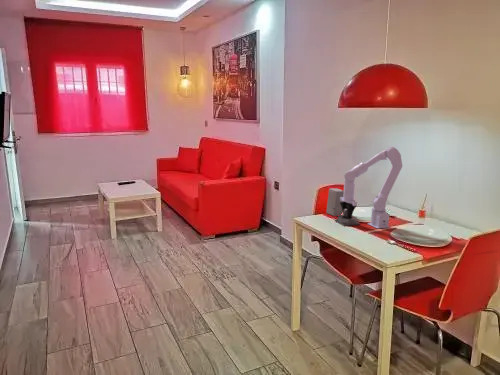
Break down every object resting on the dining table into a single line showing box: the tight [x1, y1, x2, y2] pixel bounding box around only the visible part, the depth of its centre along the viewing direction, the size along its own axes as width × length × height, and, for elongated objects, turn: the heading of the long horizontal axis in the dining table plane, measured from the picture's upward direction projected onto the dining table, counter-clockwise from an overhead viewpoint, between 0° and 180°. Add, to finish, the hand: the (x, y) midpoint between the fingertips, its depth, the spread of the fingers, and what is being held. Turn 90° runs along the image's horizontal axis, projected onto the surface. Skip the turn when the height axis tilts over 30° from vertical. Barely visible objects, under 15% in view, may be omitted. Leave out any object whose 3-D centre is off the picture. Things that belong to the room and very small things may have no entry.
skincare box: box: [326, 187, 344, 217], centre depth 237 cm, size 8×7×16 cm
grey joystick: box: [334, 214, 361, 227], centre depth 220 cm, size 10×10×4 cm
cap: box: [342, 209, 351, 218], centre depth 219 cm, size 4×4×5 cm
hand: (347, 215), depth 219 cm, fingers closed on cap, 4 cm apart
